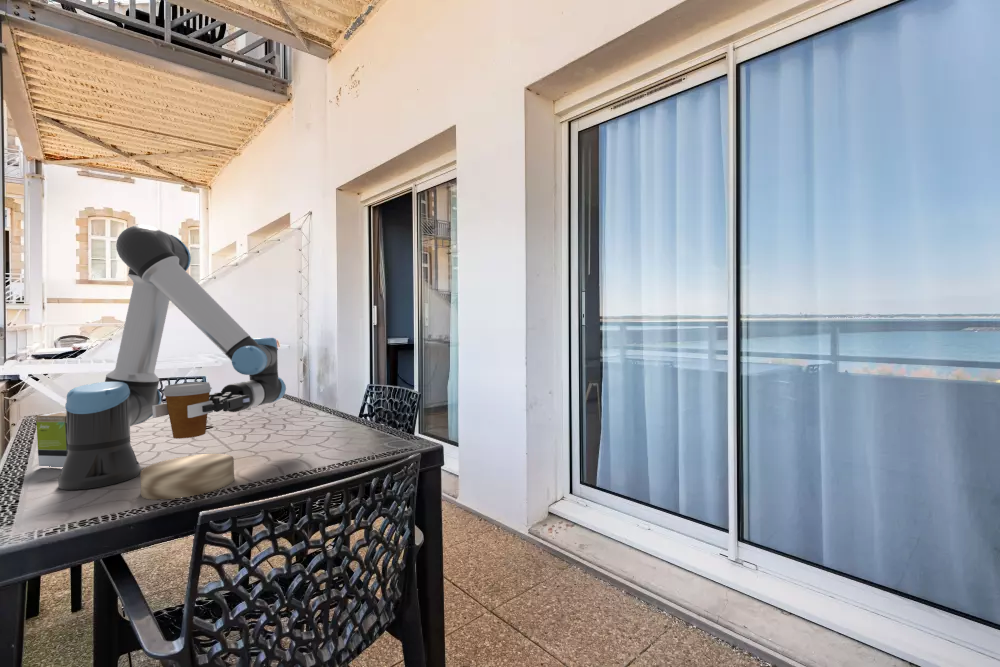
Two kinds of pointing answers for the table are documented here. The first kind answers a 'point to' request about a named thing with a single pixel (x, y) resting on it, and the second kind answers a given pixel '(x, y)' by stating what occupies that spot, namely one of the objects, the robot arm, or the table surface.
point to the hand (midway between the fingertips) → (171, 411)
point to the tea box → (52, 439)
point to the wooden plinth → (187, 476)
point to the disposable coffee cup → (178, 411)
